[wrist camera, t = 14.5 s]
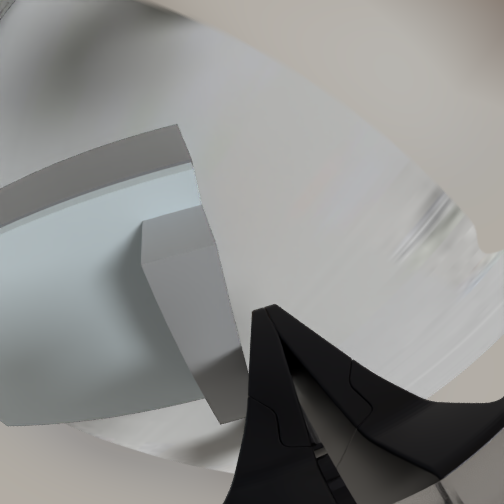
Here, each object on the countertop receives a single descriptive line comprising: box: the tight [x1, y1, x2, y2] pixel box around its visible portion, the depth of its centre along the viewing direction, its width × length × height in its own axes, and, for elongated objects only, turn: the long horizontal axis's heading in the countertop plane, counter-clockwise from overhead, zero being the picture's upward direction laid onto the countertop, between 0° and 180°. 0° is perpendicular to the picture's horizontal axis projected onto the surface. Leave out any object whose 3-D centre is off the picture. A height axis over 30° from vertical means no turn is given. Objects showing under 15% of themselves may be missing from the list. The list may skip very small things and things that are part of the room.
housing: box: [0, 124, 193, 228], centre depth 12 cm, size 10×14×6 cm
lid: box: [0, 162, 249, 426], centre depth 8 cm, size 10×14×3 cm
